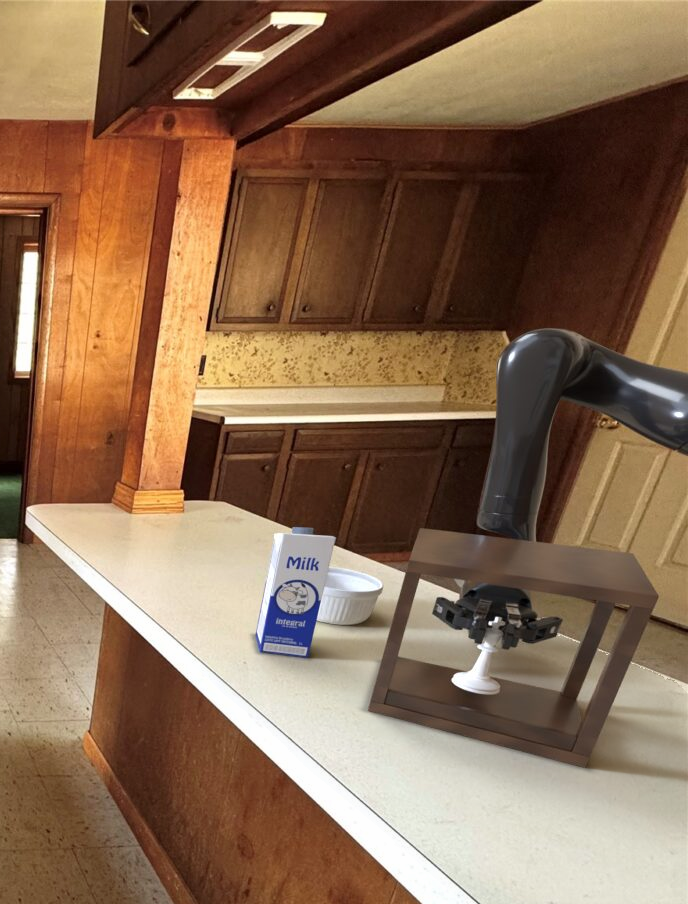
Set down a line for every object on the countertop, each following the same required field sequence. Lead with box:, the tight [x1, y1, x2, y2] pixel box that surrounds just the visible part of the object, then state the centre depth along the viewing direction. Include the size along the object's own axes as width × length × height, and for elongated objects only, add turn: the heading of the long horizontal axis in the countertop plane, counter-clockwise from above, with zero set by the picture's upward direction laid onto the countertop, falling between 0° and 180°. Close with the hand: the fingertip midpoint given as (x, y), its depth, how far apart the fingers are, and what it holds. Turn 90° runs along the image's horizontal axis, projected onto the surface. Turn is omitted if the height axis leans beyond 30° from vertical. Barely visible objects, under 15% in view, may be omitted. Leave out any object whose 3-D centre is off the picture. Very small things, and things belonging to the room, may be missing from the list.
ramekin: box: [316, 566, 384, 626], centre depth 119 cm, size 13×13×7 cm
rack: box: [367, 527, 660, 768], centre depth 85 cm, size 21×18×22 cm
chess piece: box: [452, 617, 505, 695], centre depth 86 cm, size 5×5×10 cm
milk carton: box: [255, 526, 337, 659], centre depth 104 cm, size 7×7×20 cm
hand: (494, 639), depth 83 cm, fingers closed on chess piece
